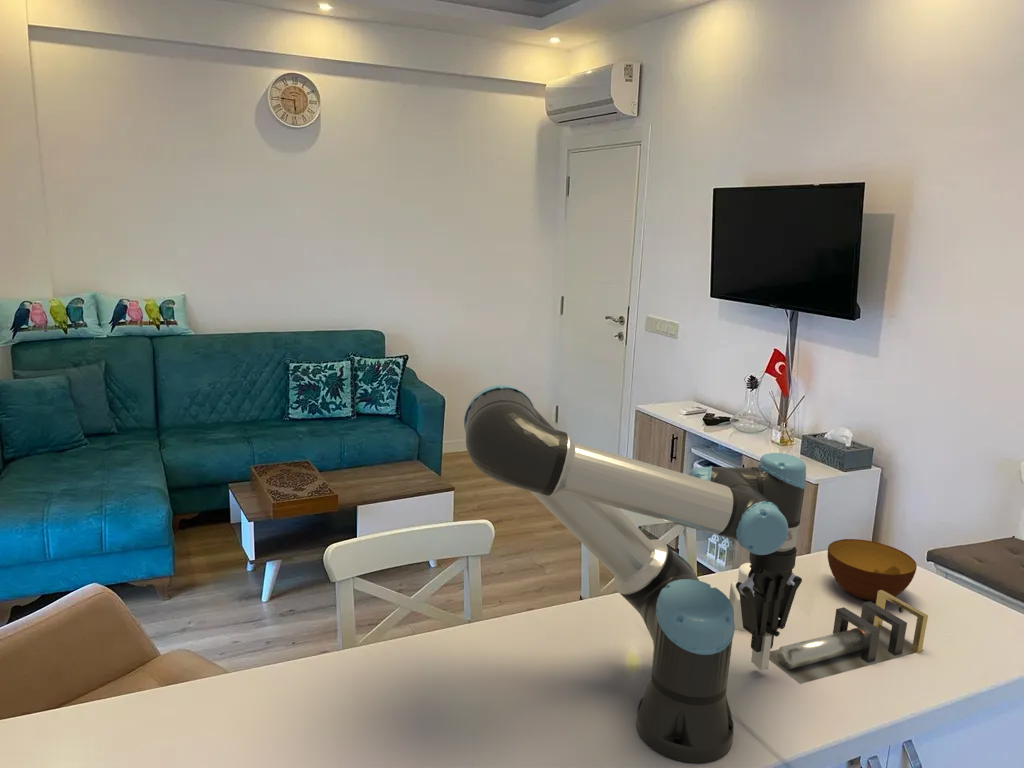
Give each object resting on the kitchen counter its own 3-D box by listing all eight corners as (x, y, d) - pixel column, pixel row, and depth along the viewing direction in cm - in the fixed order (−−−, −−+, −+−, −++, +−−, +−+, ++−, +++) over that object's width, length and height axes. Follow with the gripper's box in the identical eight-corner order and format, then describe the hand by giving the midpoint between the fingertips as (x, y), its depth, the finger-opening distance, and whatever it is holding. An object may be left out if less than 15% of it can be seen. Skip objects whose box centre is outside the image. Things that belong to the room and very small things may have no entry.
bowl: (912, 593, 168) (919, 552, 166) (905, 627, 154) (913, 582, 151) (829, 571, 177) (835, 532, 175) (815, 601, 163) (821, 559, 160)
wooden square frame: (917, 653, 142) (923, 616, 141) (872, 625, 152) (877, 590, 150) (921, 652, 143) (928, 615, 141) (876, 624, 152) (882, 589, 150)
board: (799, 689, 131) (799, 684, 131) (760, 658, 140) (760, 653, 140) (923, 655, 144) (924, 650, 143) (880, 629, 152) (880, 624, 152)
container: (764, 617, 155) (771, 560, 152) (773, 638, 148) (781, 577, 145) (726, 614, 156) (733, 557, 153) (733, 634, 148) (740, 574, 146)
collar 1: (867, 662, 139) (872, 631, 137) (831, 639, 146) (836, 608, 145) (875, 660, 139) (880, 629, 138) (839, 637, 147) (844, 607, 146)
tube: (792, 674, 134) (796, 655, 133) (776, 660, 138) (779, 641, 137) (873, 653, 142) (877, 634, 141) (856, 640, 146) (860, 621, 144)
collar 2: (894, 655, 141) (899, 624, 140) (858, 632, 149) (862, 603, 147) (902, 653, 142) (907, 622, 141) (865, 630, 150) (870, 601, 148)
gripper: (759, 557, 122) (744, 685, 128) (819, 546, 127) (802, 669, 133) (729, 539, 129) (716, 661, 134) (787, 529, 134) (773, 647, 139)
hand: (759, 665), depth 133 cm, fingers closed
